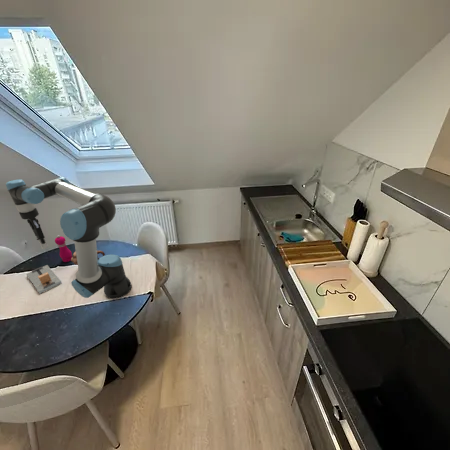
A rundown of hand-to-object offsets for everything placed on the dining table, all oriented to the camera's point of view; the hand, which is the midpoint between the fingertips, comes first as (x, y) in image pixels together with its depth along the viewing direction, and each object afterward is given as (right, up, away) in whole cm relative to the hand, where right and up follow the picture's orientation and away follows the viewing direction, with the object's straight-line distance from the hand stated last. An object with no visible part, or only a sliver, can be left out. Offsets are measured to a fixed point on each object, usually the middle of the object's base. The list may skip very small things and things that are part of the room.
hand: (45, 247), depth 140 cm
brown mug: (+12, -16, +27) cm, 34 cm away
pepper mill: (-9, -12, +35) cm, 38 cm away
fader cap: (-9, -22, +13) cm, 27 cm away
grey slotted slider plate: (-13, -22, +17) cm, 31 cm away
